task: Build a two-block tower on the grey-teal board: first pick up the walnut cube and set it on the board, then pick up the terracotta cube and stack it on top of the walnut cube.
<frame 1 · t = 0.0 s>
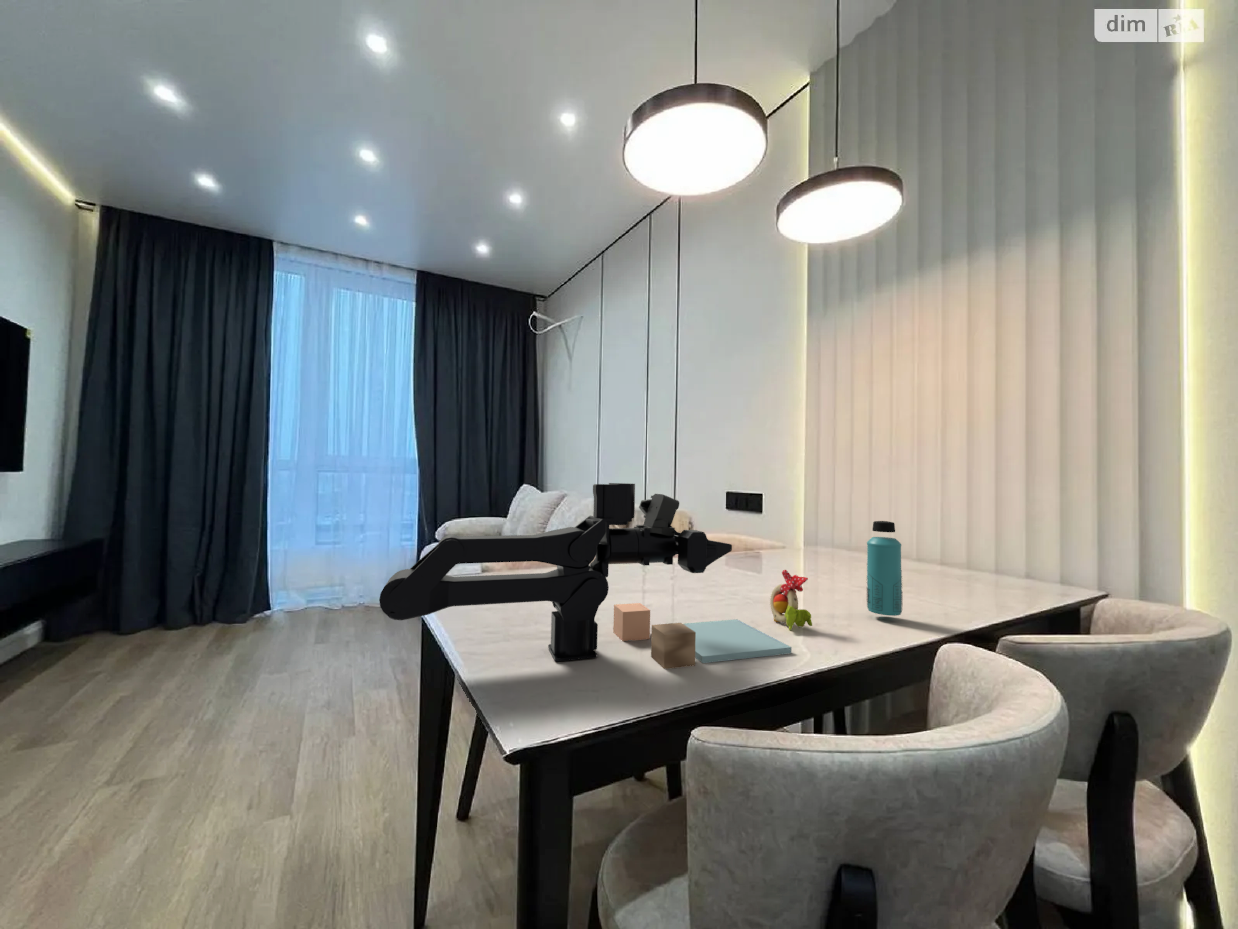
hand: (717, 543, 84), 17 cm above the table, tool horizontal, fingers open, 9 cm apart
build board: (721, 641, 83), on the table
bird rattle: (786, 627, 93), on the table
beverage bottle: (883, 619, 99), on the table
terracotta cube: (631, 636, 85), on the table
walnut cube: (672, 661, 74), on the table
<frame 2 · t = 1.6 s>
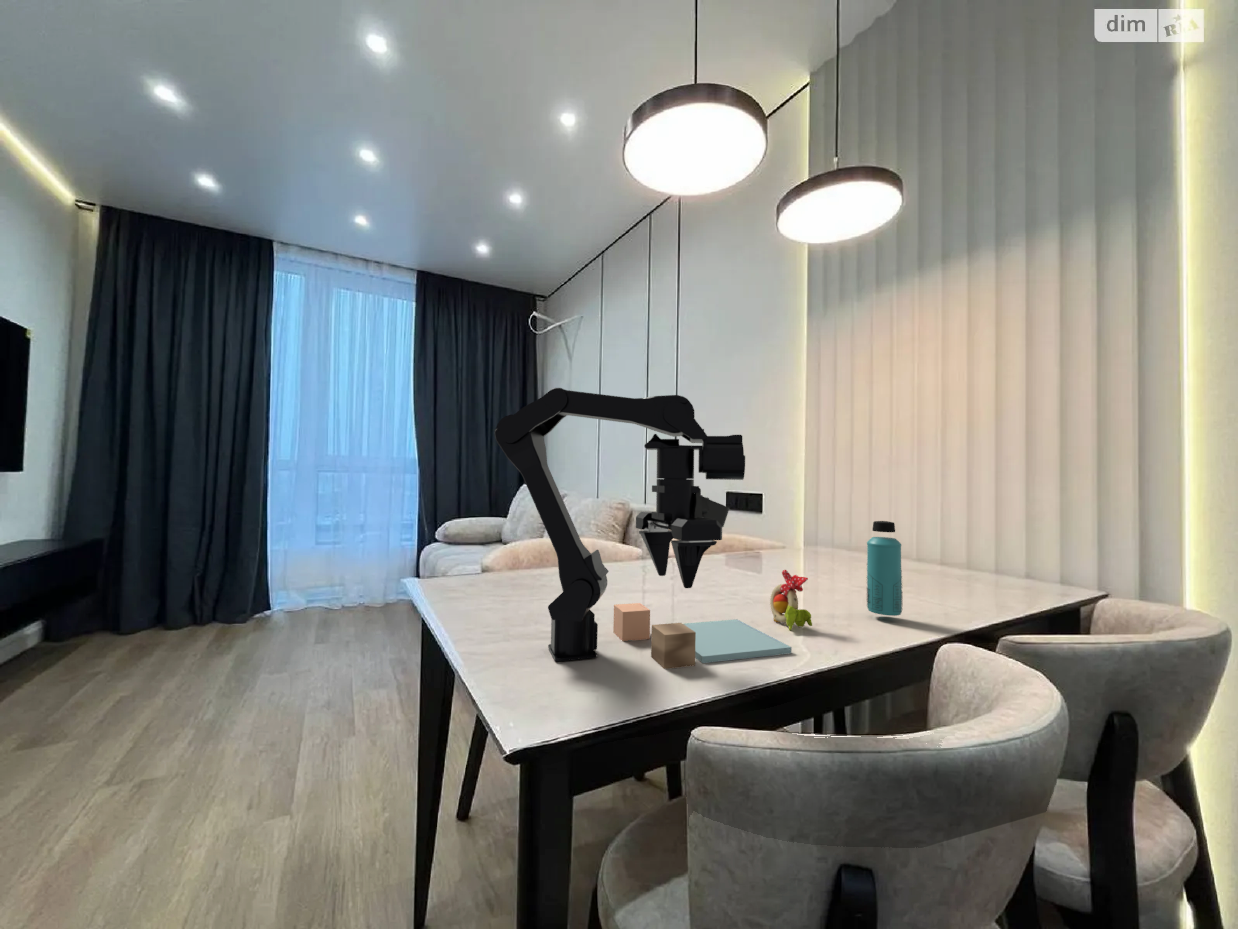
hand: (674, 581, 74), 12 cm above the table, tool pointing down, fingers open, 9 cm apart
nothing on the table moved.
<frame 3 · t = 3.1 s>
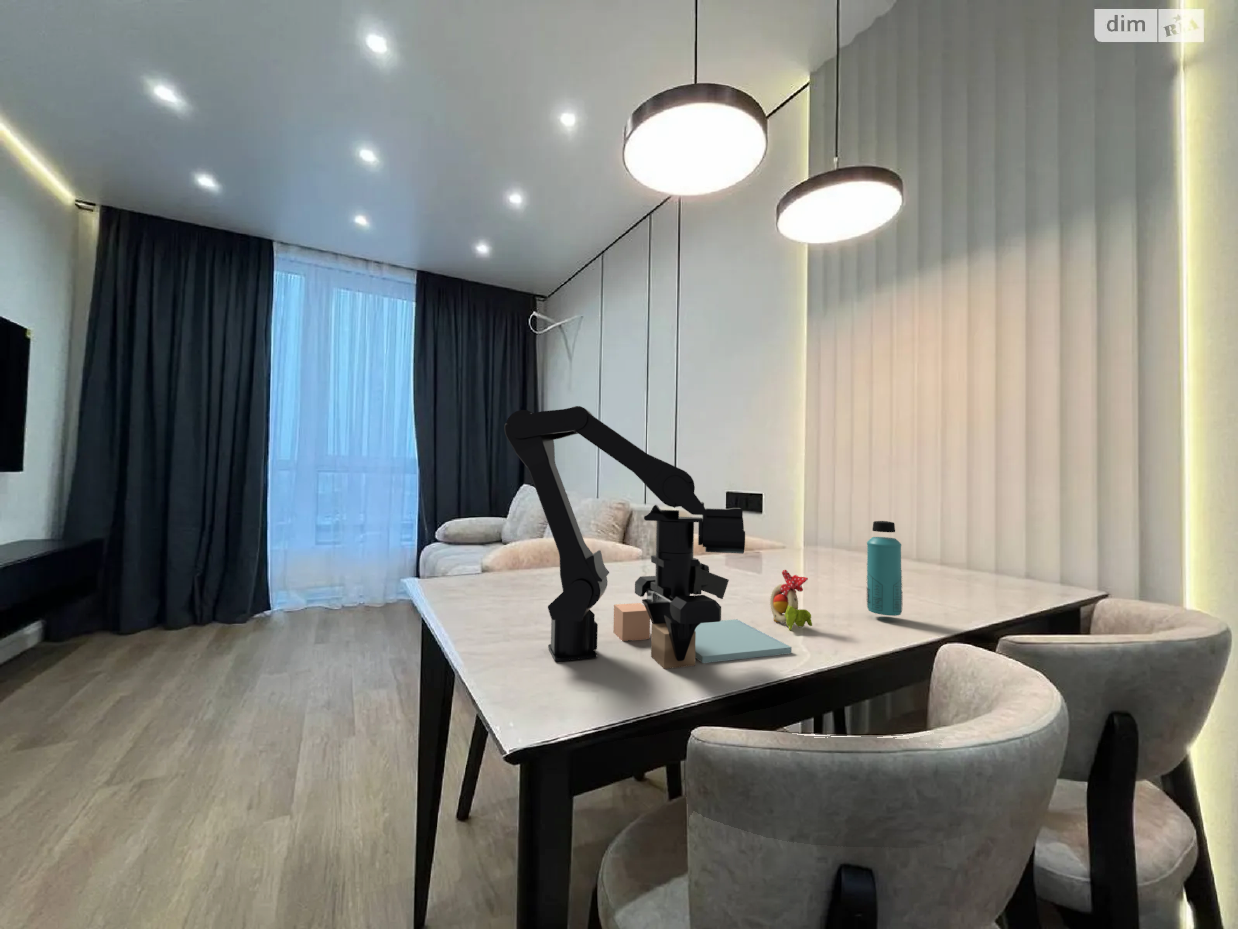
hand: (672, 654, 74), 1 cm above the table, tool pointing down, fingers closed on walnut cube, 5 cm apart
walnut cube: (672, 661, 74), on the table, touching gripper
everything else where it was.
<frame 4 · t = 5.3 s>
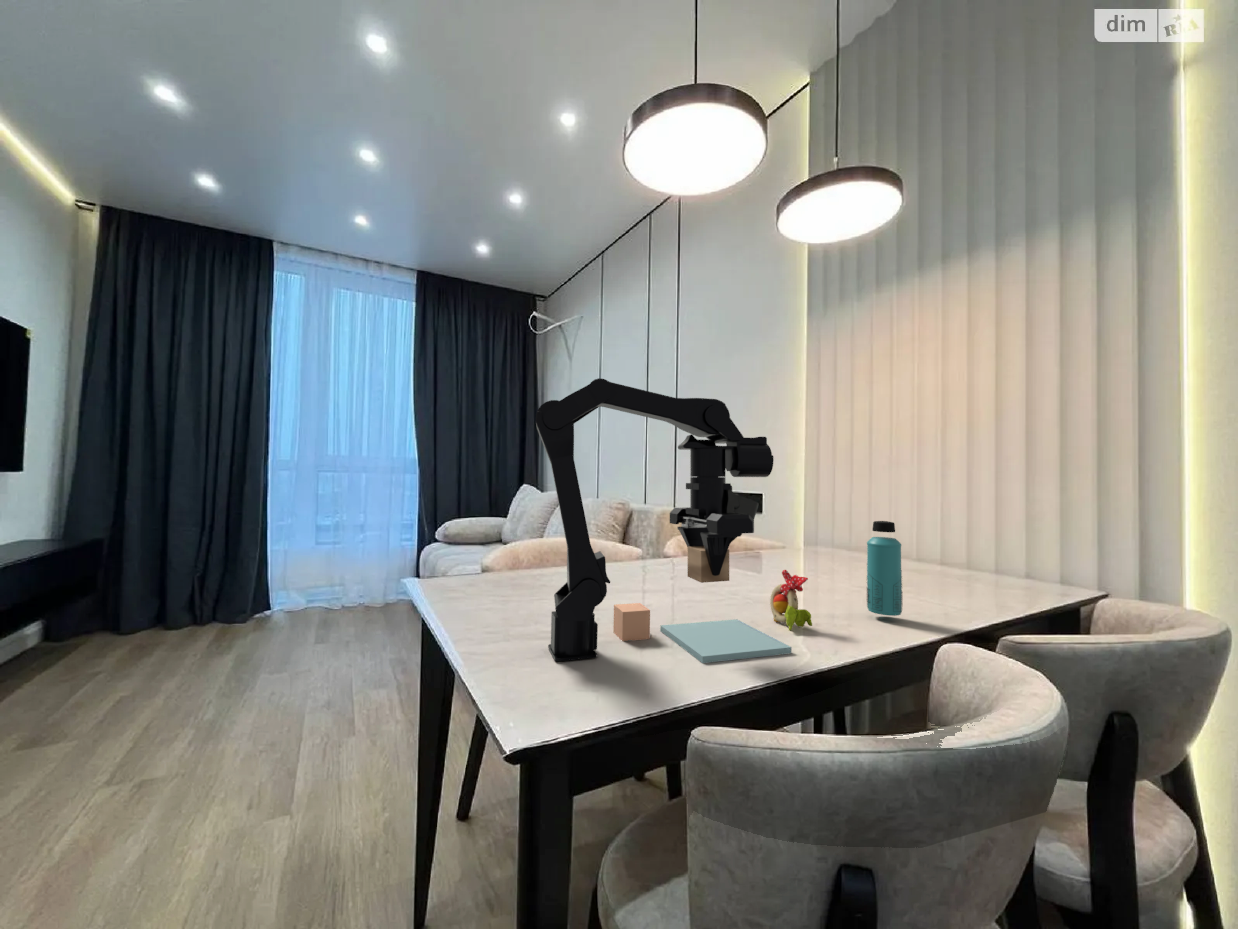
hand: (708, 572, 80), 12 cm above the table, tool pointing down, fingers closed on walnut cube, 5 cm apart
walnut cube: (708, 578, 80), point 11 cm above the table, touching gripper
everything else where it was.
when the fingers open (3 cm above the table, at t = 7.7 s): walnut cube stays where it is, resting on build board.
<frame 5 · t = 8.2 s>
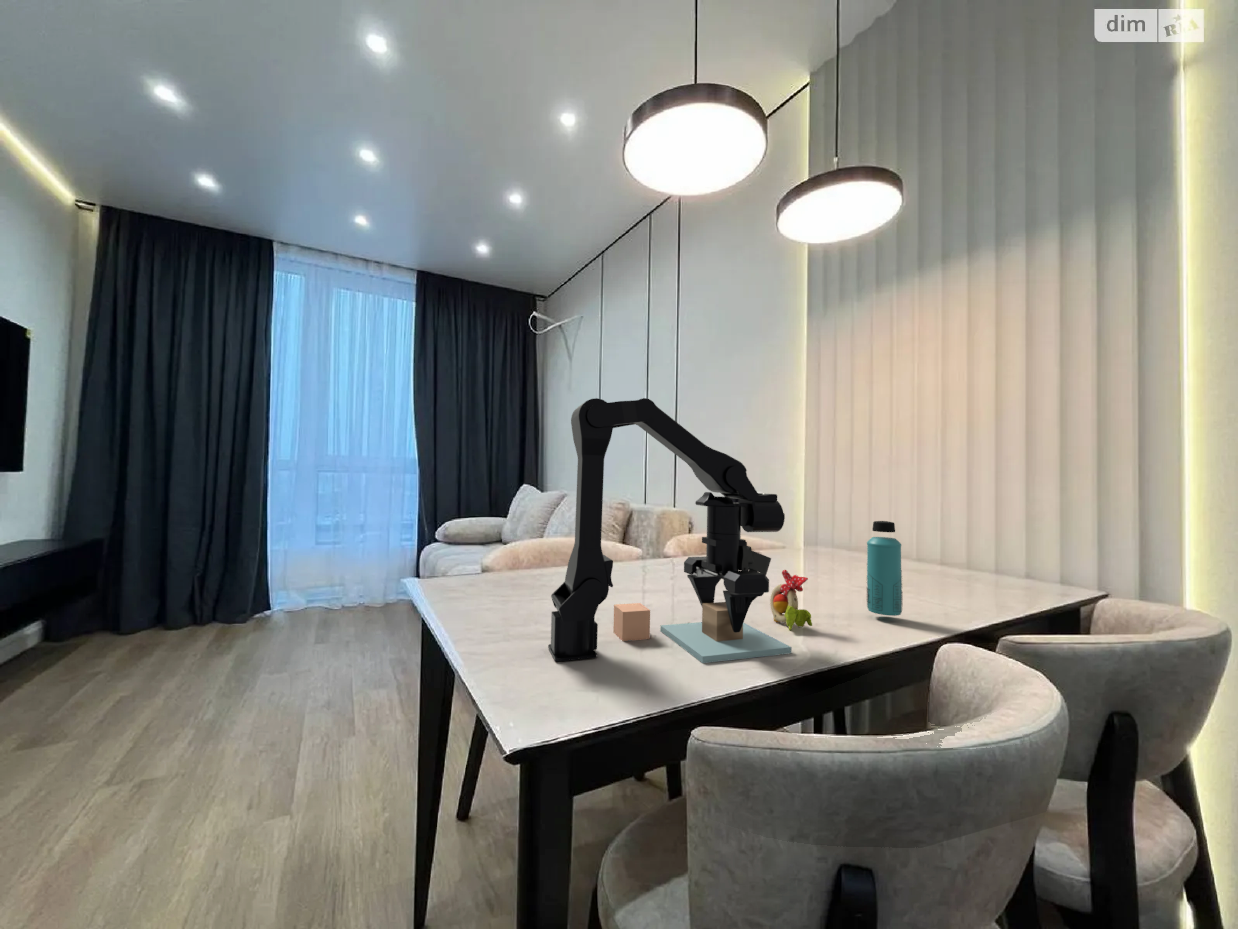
hand: (722, 623, 83), 3 cm above the table, tool pointing down, fingers open, 9 cm apart
walnut cube: (721, 635, 83), point 1 cm above the table, touching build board
everything else where it was.
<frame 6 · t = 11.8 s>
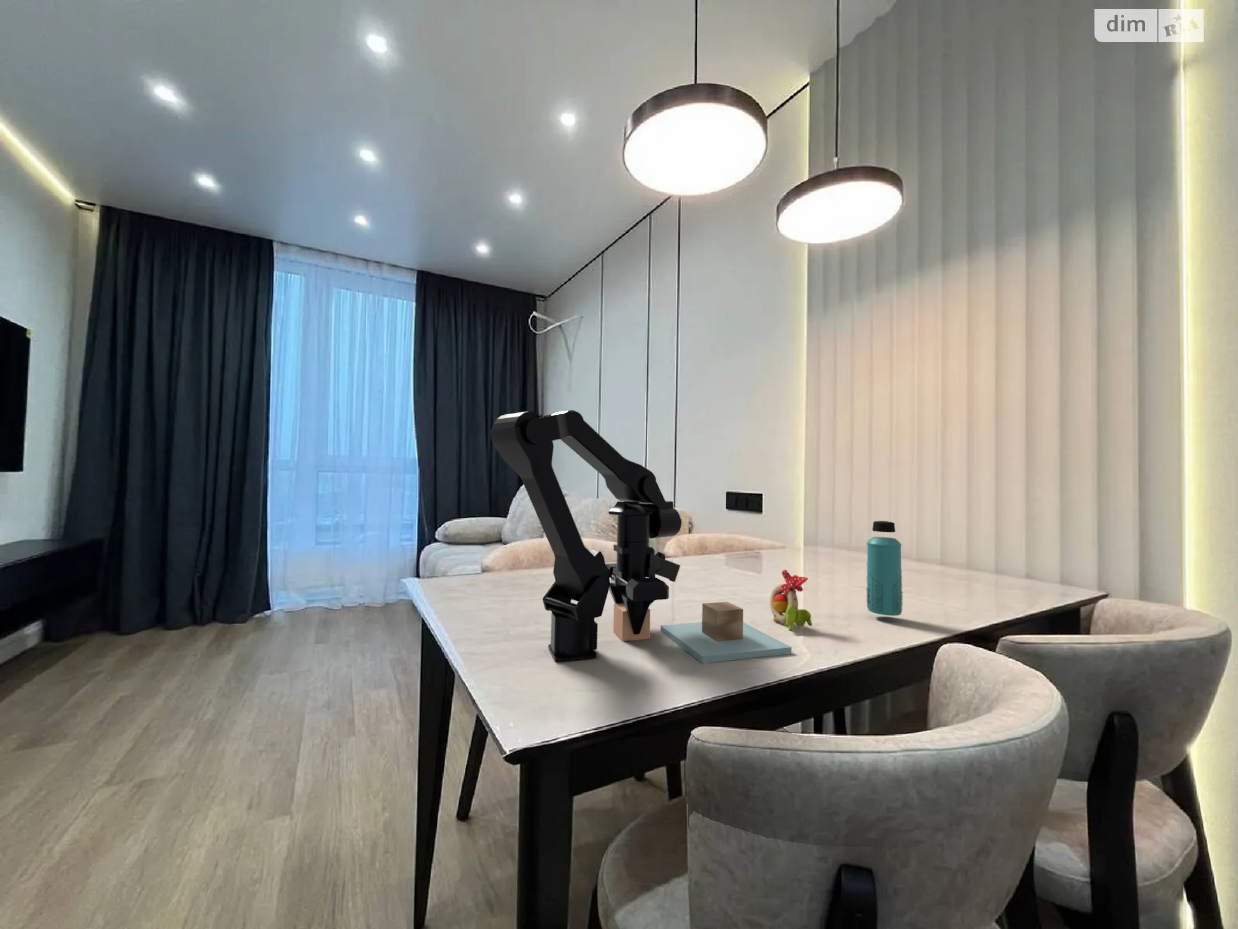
hand: (631, 629, 85), 1 cm above the table, tool pointing down, fingers closed on terracotta cube, 5 cm apart
terracotta cube: (631, 635, 85), on the table, touching gripper
everything else where it was.
when the fingers open (8 cm above the table, at t = 15.4 s): terracotta cube stays where it is, resting on walnut cube.
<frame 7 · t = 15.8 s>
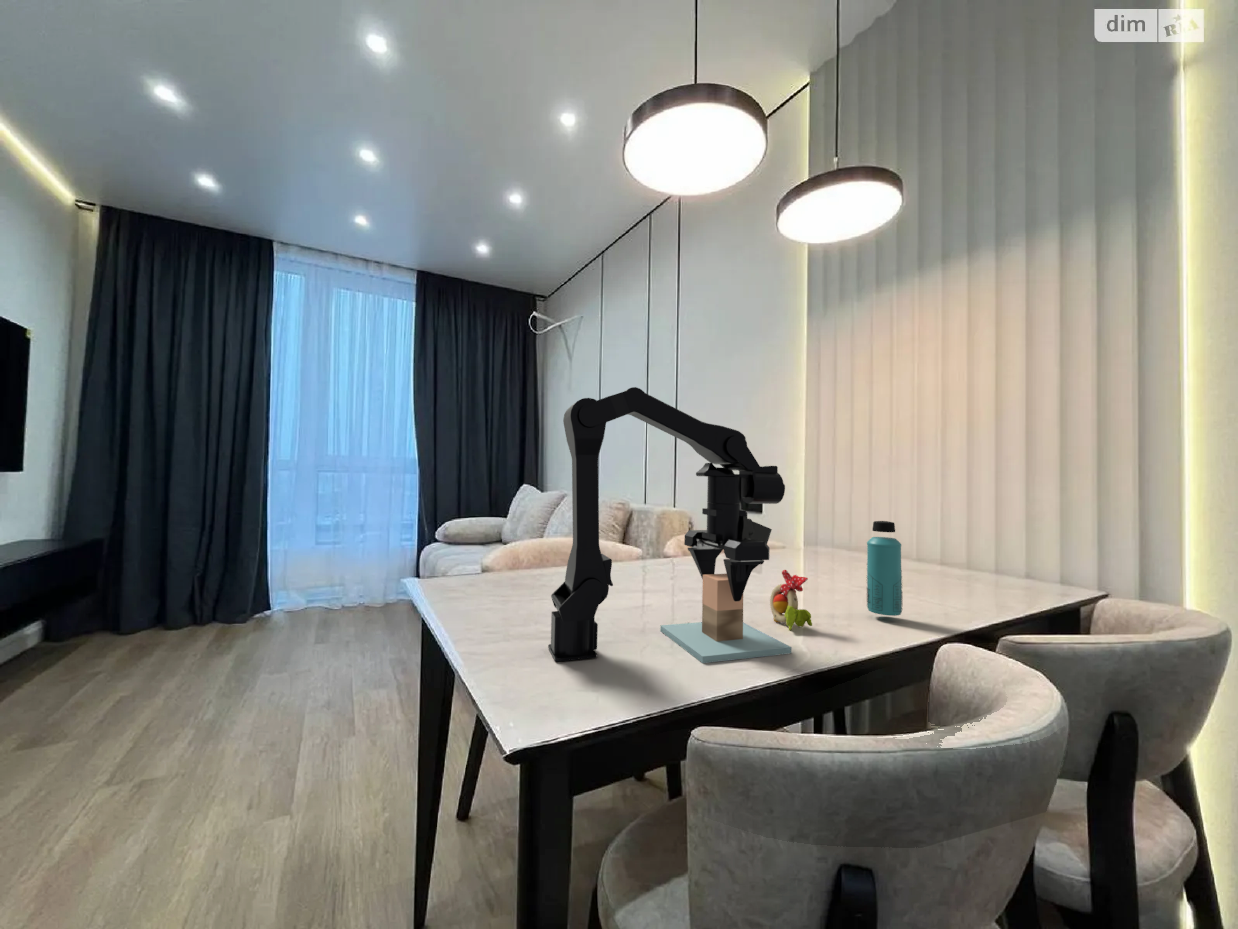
hand: (722, 594, 83), 8 cm above the table, tool pointing down, fingers open, 9 cm apart
terracotta cube: (722, 606, 83), point 6 cm above the table, touching walnut cube
walnut cube: (722, 635, 83), point 1 cm above the table, touching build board, terracotta cube
everything else where it was.
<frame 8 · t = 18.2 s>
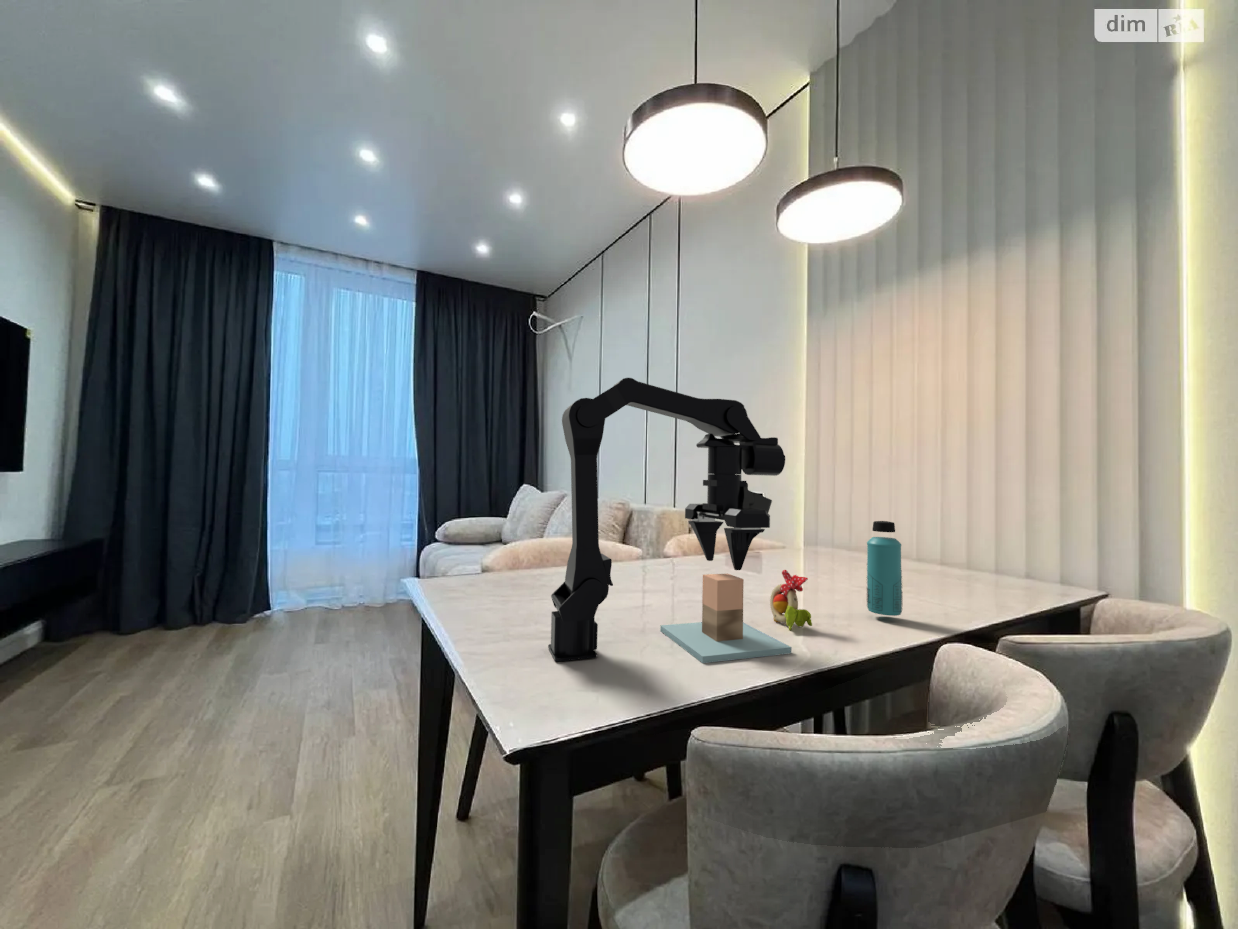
hand: (723, 565, 83), 13 cm above the table, tool pointing down, fingers open, 9 cm apart
nothing on the table moved.
at the end: walnut cube inside the target area on the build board (0.0 cm from its centre), point 1.0 cm above the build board's base; terracotta cube 0.0 cm off-centre on the walnut cube, point 5.0 cm above the walnut cube's base; terracotta cube tilted 0° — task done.
